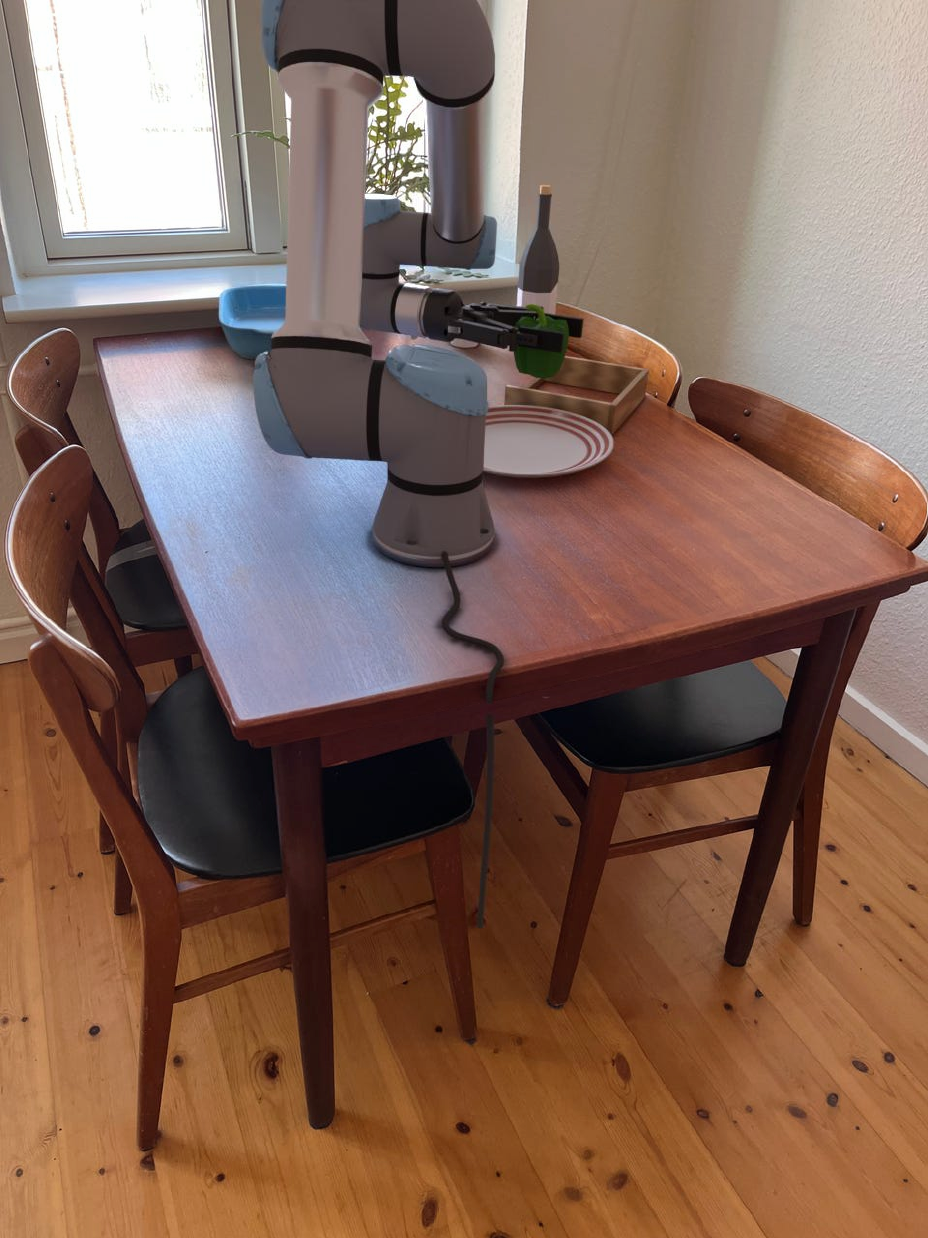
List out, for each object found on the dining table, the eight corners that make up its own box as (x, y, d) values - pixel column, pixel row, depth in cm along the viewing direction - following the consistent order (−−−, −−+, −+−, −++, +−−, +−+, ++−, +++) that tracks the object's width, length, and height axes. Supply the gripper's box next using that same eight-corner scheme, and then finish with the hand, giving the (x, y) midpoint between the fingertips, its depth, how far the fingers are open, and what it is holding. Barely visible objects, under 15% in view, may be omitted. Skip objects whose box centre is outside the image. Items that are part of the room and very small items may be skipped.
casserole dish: (343, 365, 177) (342, 327, 173) (222, 369, 172) (218, 329, 168) (325, 315, 207) (323, 282, 203) (221, 317, 202) (218, 282, 199)
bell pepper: (577, 375, 141) (584, 307, 135) (543, 386, 135) (549, 316, 130) (534, 362, 145) (539, 296, 140) (499, 372, 140) (504, 304, 135)
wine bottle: (516, 334, 200) (526, 181, 184) (553, 337, 200) (567, 184, 184) (512, 344, 194) (523, 186, 178) (551, 347, 193) (565, 189, 177)
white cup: (487, 343, 194) (489, 308, 190) (469, 350, 189) (471, 315, 185) (459, 337, 197) (460, 303, 193) (441, 344, 192) (442, 309, 188)
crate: (497, 413, 158) (499, 384, 155) (541, 378, 175) (543, 352, 173) (611, 435, 152) (615, 405, 149) (645, 396, 169) (649, 369, 166)
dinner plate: (519, 509, 126) (520, 486, 125) (395, 447, 144) (395, 426, 142) (648, 462, 142) (651, 442, 140) (523, 411, 159) (524, 392, 158)
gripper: (458, 323, 153) (590, 343, 146) (399, 355, 136) (545, 380, 129) (460, 275, 149) (596, 294, 142) (399, 302, 132) (550, 325, 125)
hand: (572, 335), depth 135 cm, fingers closed on bell pepper, 8 cm apart
